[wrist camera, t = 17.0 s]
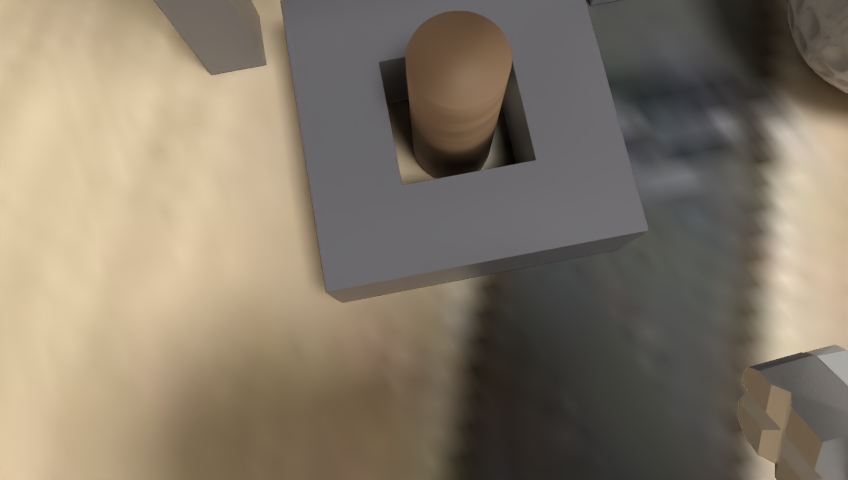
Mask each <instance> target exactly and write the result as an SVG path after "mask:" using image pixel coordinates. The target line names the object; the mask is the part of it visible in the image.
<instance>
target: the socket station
mask: <svg viewBox="0 0 848 480" xmlns="http://www.w3.org/2000/svg"><path fill="white" fill-rule="evenodd" d="M154 1H155V3H156V4H157V5H158V6H159V8H160V9H161V10H162V12H163V13H164V14H165V15H166V17H167V18H168V19H169V21H170V22H171V23H172V25H173V26H174V27H175V28H176V30H177V31H178V32H179V34H180V35H181V36H182V37H183V39H184V40H185V41H186V43H187V44H188V45H189V46H190V48H191V49H192V50H193V52H194V53H195V54H196V56H197V57H198V58H199V59H200V61H201V62H202V63H203V65H204V66H205V67H206V68H207V70H208V71H209V72H210V74H211V75H213V74H219V73H224V72H230V71H235V70H241V69H246V68H252V67H257V66H262V65H266V60H265V53H264V46H263V40H262V33H261V26H260V19H259V15H258V13H257V11H256V9H255V7H254V5H253V3H252V1H251V0H154ZM613 1H618V0H589V2H590V5H596V4H602V3H607V2H613ZM280 2H281V8H282V14H283V21H284V27H285V34H286V40H287V46H288V53H289V59H290V65H291V72H292V78H293V84H294V91H295V97H296V104H297V110H298V116H299V123H300V129H301V135H302V142H303V148H304V154H305V161H306V167H307V174H308V180H309V186H310V193H311V199H312V205H313V212H314V218H315V224H316V231H317V237H318V244H319V250H320V256H321V263H322V269H323V275H324V282H325V288H326V292H327V293H328V294H330V295H331V296H333V297H334V298H336V299H337V300H339V301H340V302H342V303H343V302H348V301H354V300H359V299H364V298H369V297H374V296H380V295H385V294H390V293H395V292H401V291H406V290H411V289H416V288H421V287H427V286H432V285H437V284H442V283H447V282H453V281H458V280H463V279H468V278H474V277H479V276H484V275H489V274H494V273H500V272H505V271H510V270H515V269H520V268H526V267H531V266H536V265H541V264H547V263H552V262H557V261H562V260H567V259H573V258H578V257H583V256H588V255H593V254H599V253H604V252H609V251H614V250H618V249H620V248H621V247H623V246H624V245H626V244H628V243H629V242H631V241H632V240H634V239H636V238H637V237H639V236H640V235H642V234H644V233H645V232H647V231H649V229H648V225H647V222H646V218H645V215H644V211H643V207H642V204H641V200H640V196H639V193H638V189H637V185H636V182H635V178H634V175H633V171H632V167H631V164H630V160H629V156H628V153H627V149H626V145H625V142H624V138H623V135H622V131H621V127H620V124H619V120H618V116H617V113H616V109H615V105H614V102H613V98H612V95H611V91H610V87H609V84H608V80H607V76H606V73H605V69H604V65H603V62H602V58H601V55H600V51H599V47H598V44H597V40H596V36H595V33H594V29H593V26H592V22H591V18H590V15H589V11H588V7H587V4H586V0H281V1H280ZM448 11H469V12H473V13H477V14H479V15H482V16H484V17H486V18H488V19H489V20H491V21H492V22H493V23H495V24H496V25H497V26H498V27H499V28H500V29H501V30H502V32H503V33H504V35H505V36H506V38H507V40H508V42H509V45H510V48H511V53H512V65H511V71H510V74H509V78H508V82H507V86H506V90H505V94H504V97H503V101H502V107H503V112H504V116H505V120H506V125H507V129H508V133H509V137H510V142H511V146H512V150H513V155H514V159H515V163H516V164H513V165H508V166H502V167H497V168H492V169H486V170H481V171H476V172H470V173H465V174H460V175H454V176H449V177H444V178H438V179H433V180H428V181H422V182H417V183H412V184H407V185H402V182H401V177H400V171H399V166H398V161H397V156H396V150H395V145H394V140H393V135H392V129H391V124H390V119H389V114H388V108H387V104H388V103H393V102H399V101H404V100H409V95H408V84H407V73H406V63H405V56H406V49H407V46H408V43H409V41H410V38H411V37H412V35H413V33H414V32H415V31H416V30H417V28H418V27H419V26H420V25H421V24H422V23H424V22H425V21H426V20H428V19H429V18H431V17H433V16H435V15H438V14H440V13H444V12H448Z"/></svg>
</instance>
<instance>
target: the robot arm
mask: <svg viewBox="0 0 848 480" xmlns="http://www.w3.org/2000/svg"><path fill="white" fill-rule="evenodd" d="M742 384H743V385H744V386H745V387H746V389H747V390H748V391H747V392H746V393H745V394H744V396H743V397H742V398H741V399H740V400H739V405H738V418H739V421H740V425H741V429H742V431H743V433H744V435H745V437H746V439H747V440H748V442H749V444H750V445H751V446H752V448H753V449H754V450H755V452H756V453H757V454H758V455H759V456H761V457H763V458H765V459H767V460H769V461H771V462H773V463H775V478H776V480H848V351H847V350H846V349H844V348H842V347H840V346H837V345H832V346H827V347H823V348H820V349H816V350H813V351H809V352H806V353H798V354H794V355H791V356H787V357H783V358H780V359H776V360H772V361H769V362H765V363H762V364H758V365H754V366H751V367H748V368H747V369H746V370H745V371H744V373H743V379H742Z"/></svg>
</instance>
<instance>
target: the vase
mask: <svg viewBox="0 0 848 480" xmlns="http://www.w3.org/2000/svg"><path fill="white" fill-rule="evenodd" d="M787 17H788V25H789V28H790V32H791V35H792V38H793V40H794V42H795V44H796V46H797V48H798V50H799V52H800V54H801V56H802V57H803V59H804V60H805V61H806V63H807V64H808V65H809V66H810V68H811V69H812V70H813V71H814V72H815V73H816V74H817V75H819V76H820V77H821V78H822V79H824V80H825V81H826V82H828V83H830V84H831V85H833V86H835V87H836V88H838V89H840V90H841V91H843V92H845V93H848V0H787Z"/></svg>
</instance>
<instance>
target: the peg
mask: <svg viewBox="0 0 848 480" xmlns="http://www.w3.org/2000/svg"><path fill="white" fill-rule="evenodd" d="M405 63H406V73H407V84H408V95H409V106H410V116H411V127H412V138H413V148H414V154H415V157H416V159H417V162H418V163H419V165H420V166H421V167H422V169H423V170H424V171H425V172H426V173H428V174H429V175H431V176H433V177H434V178H437V179H438V178H444V177H449V176H454V175H460V174H465V173H470V172H476V171H479V170H480V169H481V168H482V167H483V165H484V164H485V162H486V160H487V158H488V155H489V151H490V147H491V143H492V139H493V136H494V132H495V128H496V124H497V120H498V116H499V113H500V109H501V105H502V101H503V97H504V94H505V90H506V86H507V82H508V78H509V74H510V71H511V65H512V53H511V48H510V45H509V42H508V40H507V38H506V36H505V35H504V33H503V32H502V30H501V29H500V28H499V27H498V26H497V25H496V24H495V23H493V22H492V21H491V20H489V19H488V18H486V17H484V16H482V15H479V14H477V13H473V12H469V11H448V12H444V13H440V14H438V15H435V16H433V17H431V18H429V19H428V20H426V21H425V22H424V23H422V24H421V25H420V26H419V27H418V28H417V30H416V31H415V32H414V33H413V35H412V37H411V38H410V41H409V43H408V46H407V49H406V56H405Z"/></svg>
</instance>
